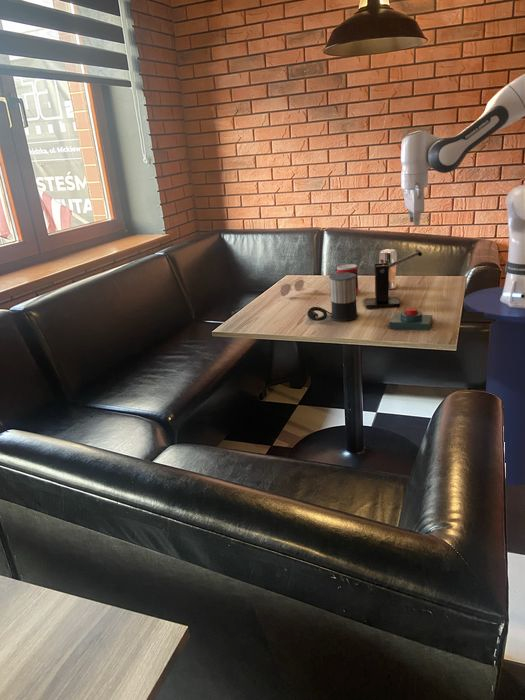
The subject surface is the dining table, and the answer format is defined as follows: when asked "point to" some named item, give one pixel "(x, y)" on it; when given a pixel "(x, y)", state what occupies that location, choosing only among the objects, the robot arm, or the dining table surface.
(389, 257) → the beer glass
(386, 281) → the bracket
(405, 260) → the lever
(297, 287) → the sunglasses
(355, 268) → the canned food
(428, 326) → the button box
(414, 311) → the button
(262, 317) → the dining table surface
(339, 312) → the milk frother
